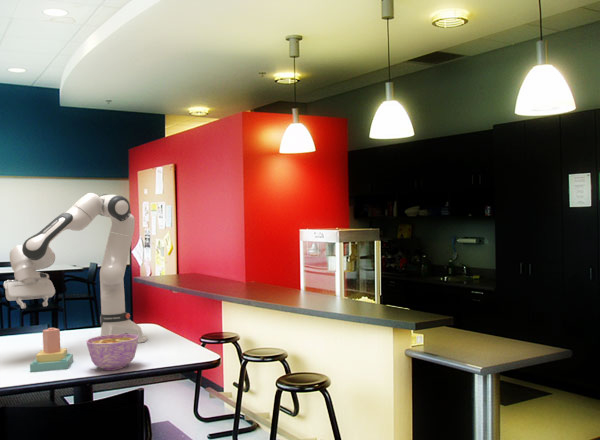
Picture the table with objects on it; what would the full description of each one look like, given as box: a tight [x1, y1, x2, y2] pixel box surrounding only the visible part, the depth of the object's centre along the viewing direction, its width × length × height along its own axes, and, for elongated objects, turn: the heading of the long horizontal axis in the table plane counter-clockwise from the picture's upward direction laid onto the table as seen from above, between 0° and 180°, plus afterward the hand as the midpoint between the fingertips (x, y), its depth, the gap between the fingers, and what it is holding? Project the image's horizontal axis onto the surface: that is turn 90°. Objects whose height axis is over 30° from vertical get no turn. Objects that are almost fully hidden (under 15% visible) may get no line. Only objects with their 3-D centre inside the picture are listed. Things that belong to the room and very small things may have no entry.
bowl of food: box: [86, 334, 139, 371], centre depth 238 cm, size 20×20×12 cm
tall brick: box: [42, 327, 61, 354], centre depth 244 cm, size 5×5×10 cm
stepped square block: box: [29, 348, 74, 373], centre depth 244 cm, size 14×14×6 cm
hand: (35, 306), depth 256 cm, fingers open, 8 cm apart
